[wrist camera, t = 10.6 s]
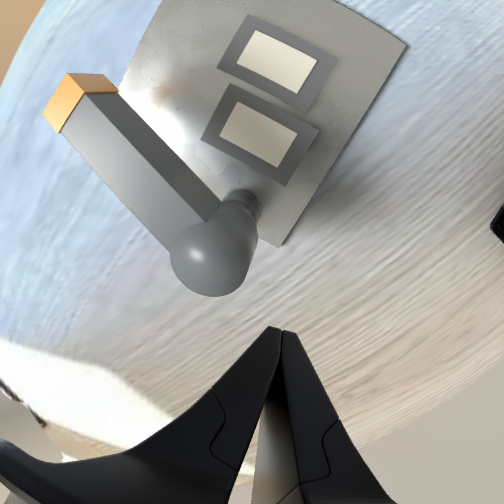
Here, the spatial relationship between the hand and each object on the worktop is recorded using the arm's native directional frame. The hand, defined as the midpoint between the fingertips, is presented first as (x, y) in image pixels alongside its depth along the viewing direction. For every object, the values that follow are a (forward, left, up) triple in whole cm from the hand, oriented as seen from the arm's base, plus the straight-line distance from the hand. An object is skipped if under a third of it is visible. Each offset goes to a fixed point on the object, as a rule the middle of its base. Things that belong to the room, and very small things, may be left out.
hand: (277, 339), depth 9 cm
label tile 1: (+5, -7, -13) cm, 16 cm away
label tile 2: (+4, -3, -13) cm, 14 cm away
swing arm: (+8, 0, -8) cm, 11 cm away
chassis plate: (+7, -5, -13) cm, 16 cm away
